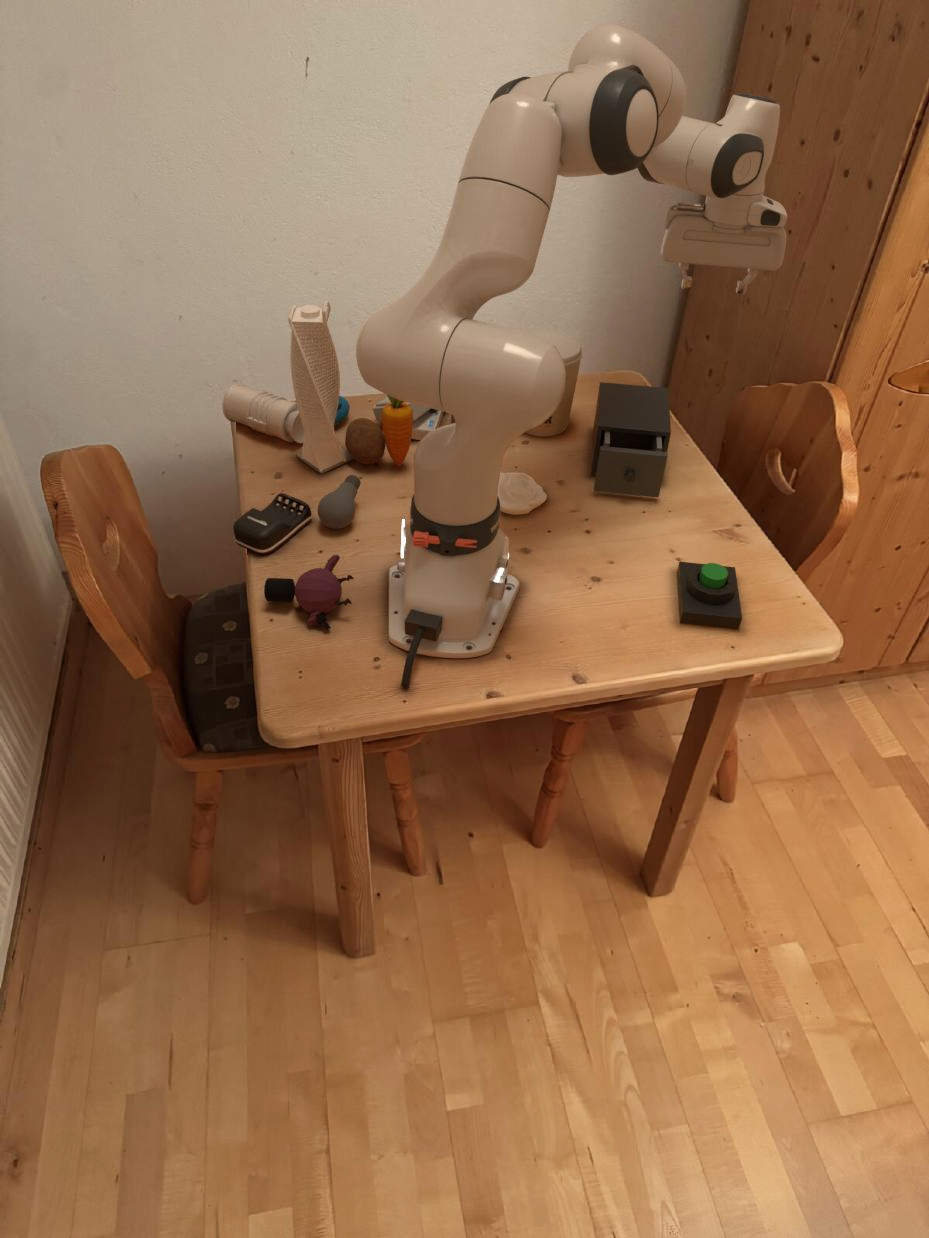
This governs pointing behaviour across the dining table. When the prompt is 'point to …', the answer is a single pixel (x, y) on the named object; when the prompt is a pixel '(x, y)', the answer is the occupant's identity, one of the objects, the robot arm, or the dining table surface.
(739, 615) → the control block
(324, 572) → the figurine
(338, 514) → the light bulb
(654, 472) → the drawer
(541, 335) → the coffee cup
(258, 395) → the white ribbed cylinder
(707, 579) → the button
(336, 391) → the skyscraper
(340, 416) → the ornament
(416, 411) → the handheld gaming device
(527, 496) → the rose
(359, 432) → the potato
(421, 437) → the ink cartridge box
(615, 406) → the cabinet
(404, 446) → the carrot
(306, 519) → the battery charger
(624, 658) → the dining table surface
